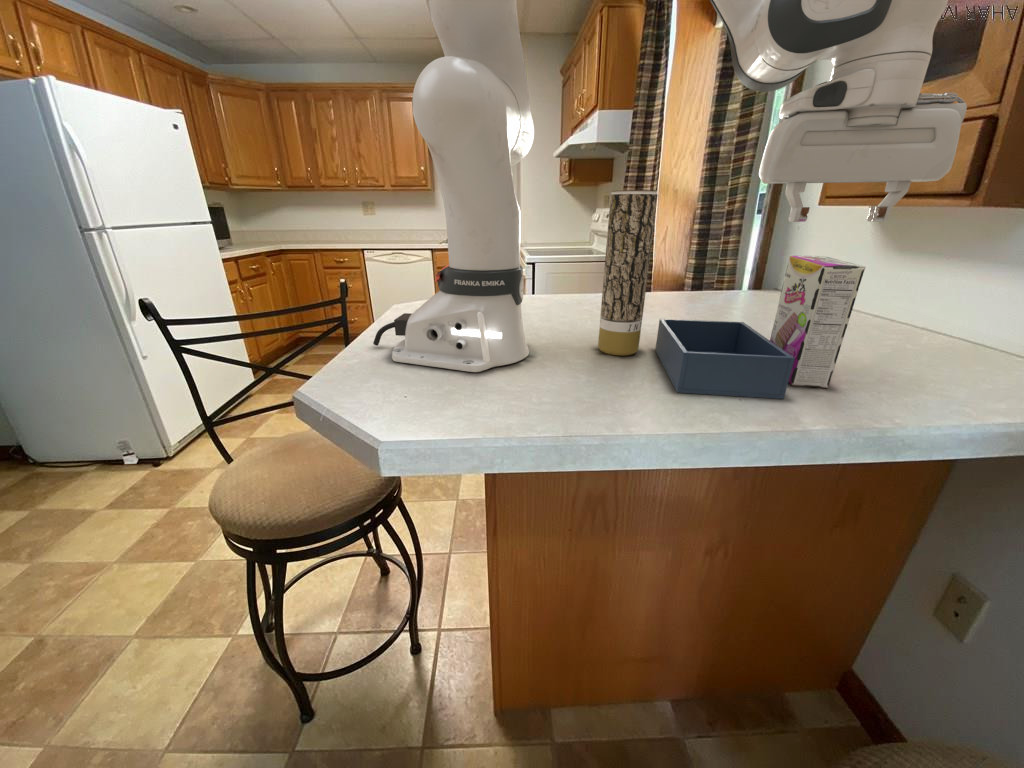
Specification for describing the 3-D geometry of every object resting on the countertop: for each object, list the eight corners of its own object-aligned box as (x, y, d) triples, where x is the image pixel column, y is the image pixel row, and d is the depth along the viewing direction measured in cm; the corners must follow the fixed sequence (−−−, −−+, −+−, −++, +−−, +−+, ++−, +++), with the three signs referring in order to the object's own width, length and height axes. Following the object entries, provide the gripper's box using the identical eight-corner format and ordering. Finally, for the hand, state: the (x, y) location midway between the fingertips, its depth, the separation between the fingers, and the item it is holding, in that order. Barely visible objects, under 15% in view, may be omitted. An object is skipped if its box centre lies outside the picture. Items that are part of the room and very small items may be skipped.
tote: (677, 392, 56) (683, 352, 54) (655, 350, 73) (659, 318, 71) (783, 399, 54) (795, 358, 52) (736, 354, 71) (743, 321, 69)
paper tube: (593, 354, 71) (607, 190, 61) (601, 343, 77) (615, 192, 67) (635, 359, 69) (656, 190, 59) (640, 347, 74) (659, 191, 65)
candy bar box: (762, 360, 68) (787, 254, 62) (796, 362, 67) (825, 255, 61) (789, 386, 58) (823, 263, 52) (829, 389, 57) (869, 265, 51)
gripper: (949, 98, 51) (908, 221, 56) (767, 104, 54) (745, 221, 59) (996, 84, 45) (946, 222, 50) (790, 92, 48) (762, 222, 53)
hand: (836, 221), depth 55 cm, fingers open, 8 cm apart
